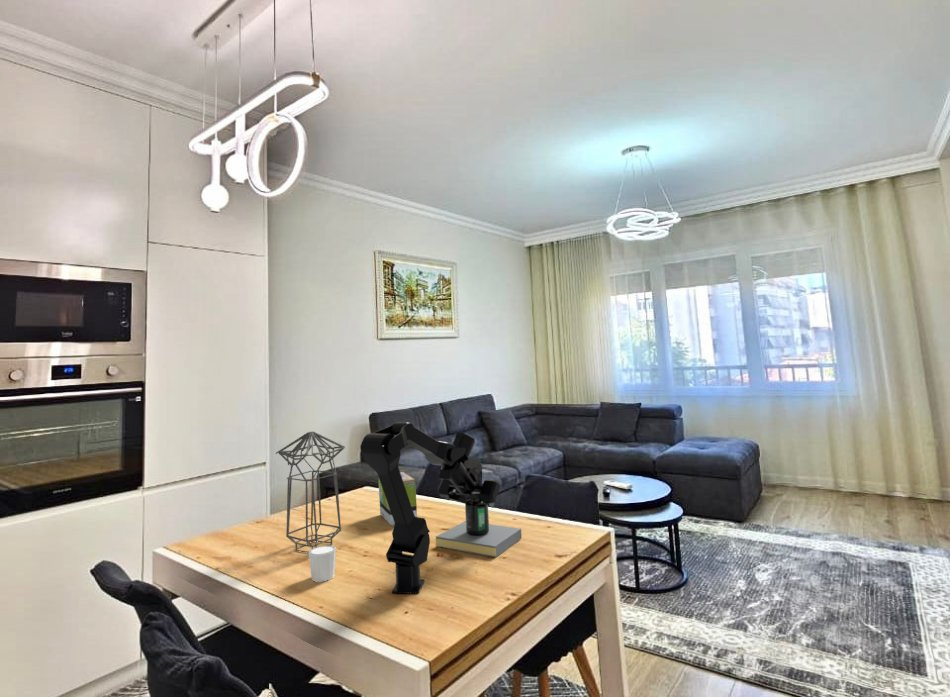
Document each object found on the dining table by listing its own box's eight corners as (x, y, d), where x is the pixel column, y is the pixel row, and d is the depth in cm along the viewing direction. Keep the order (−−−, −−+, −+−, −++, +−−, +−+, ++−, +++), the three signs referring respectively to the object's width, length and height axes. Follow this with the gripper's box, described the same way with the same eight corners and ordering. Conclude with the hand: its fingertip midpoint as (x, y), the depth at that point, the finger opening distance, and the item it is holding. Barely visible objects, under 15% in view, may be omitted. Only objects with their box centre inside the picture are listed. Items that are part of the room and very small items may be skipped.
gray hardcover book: (495, 557, 133) (494, 546, 133) (435, 547, 143) (435, 536, 144) (521, 538, 147) (521, 528, 147) (465, 530, 157) (465, 520, 157)
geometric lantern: (316, 536, 159) (313, 428, 160) (352, 543, 151) (348, 428, 152) (275, 553, 145) (271, 434, 147) (311, 561, 137) (307, 436, 139)
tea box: (379, 515, 179) (377, 474, 180) (405, 510, 184) (403, 470, 184) (390, 526, 166) (388, 482, 166) (418, 521, 170) (416, 478, 171)
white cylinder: (327, 569, 130) (326, 543, 131) (342, 575, 126) (341, 548, 126) (303, 579, 125) (302, 551, 126) (319, 585, 121) (318, 556, 121)
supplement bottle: (487, 536, 142) (485, 494, 142) (464, 536, 143) (462, 494, 143) (490, 528, 148) (488, 488, 149) (468, 528, 149) (466, 489, 150)
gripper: (495, 452, 138) (515, 483, 147) (441, 449, 148) (463, 478, 157) (482, 486, 131) (504, 516, 140) (427, 481, 141) (450, 510, 150)
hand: (479, 504), depth 147 cm, fingers open, 9 cm apart
